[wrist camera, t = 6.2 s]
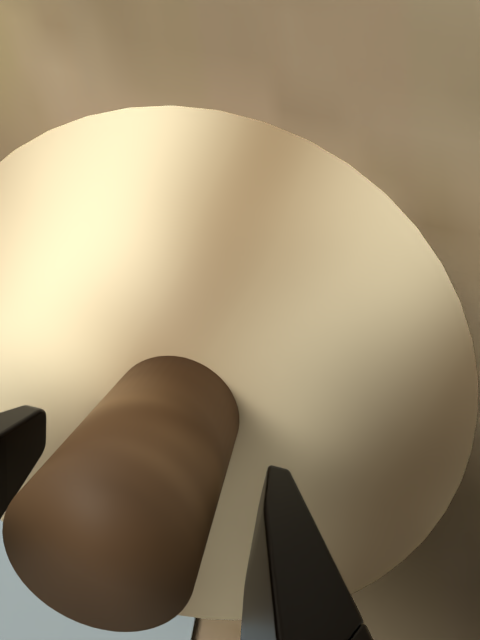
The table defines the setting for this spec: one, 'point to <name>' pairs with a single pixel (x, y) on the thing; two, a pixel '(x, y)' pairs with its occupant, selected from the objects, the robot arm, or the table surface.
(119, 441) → the lid
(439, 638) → the table surface
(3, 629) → the mat
